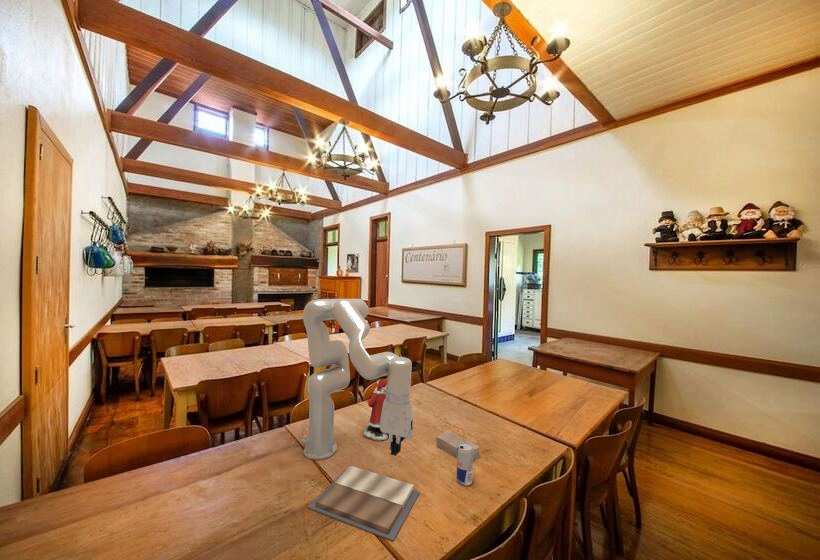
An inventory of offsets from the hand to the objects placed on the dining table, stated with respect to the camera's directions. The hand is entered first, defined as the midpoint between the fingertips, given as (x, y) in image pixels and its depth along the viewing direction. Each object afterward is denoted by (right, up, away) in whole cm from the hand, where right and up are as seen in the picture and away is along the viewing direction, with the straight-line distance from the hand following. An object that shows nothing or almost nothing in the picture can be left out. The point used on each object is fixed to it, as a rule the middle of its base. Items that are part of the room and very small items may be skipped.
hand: (395, 453), depth 98 cm
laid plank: (-11, -12, -8) cm, 18 cm away
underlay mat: (-9, -13, -4) cm, 16 cm away
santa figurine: (-9, -13, +39) cm, 42 cm away
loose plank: (-7, -12, +1) cm, 14 cm away
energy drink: (+23, -14, +7) cm, 28 cm away
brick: (+24, -14, +26) cm, 38 cm away
